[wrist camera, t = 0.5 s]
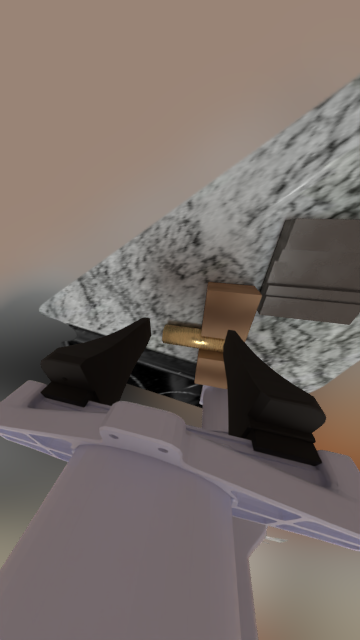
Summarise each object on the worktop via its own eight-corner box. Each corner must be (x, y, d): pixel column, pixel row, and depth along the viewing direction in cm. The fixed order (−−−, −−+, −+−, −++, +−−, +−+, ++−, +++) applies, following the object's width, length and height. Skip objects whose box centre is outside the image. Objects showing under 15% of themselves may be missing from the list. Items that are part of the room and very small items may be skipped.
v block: (335, 315, 18) (349, 324, 16) (254, 307, 20) (259, 314, 18) (402, 222, 13) (434, 220, 11) (285, 220, 14) (296, 218, 13)
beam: (226, 373, 28) (227, 389, 25) (196, 368, 29) (194, 383, 26) (254, 285, 18) (262, 295, 15) (208, 281, 19) (207, 290, 16)
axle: (239, 330, 22) (243, 343, 20) (234, 345, 24) (237, 358, 21) (167, 320, 24) (161, 331, 21) (167, 335, 26) (162, 346, 23)
